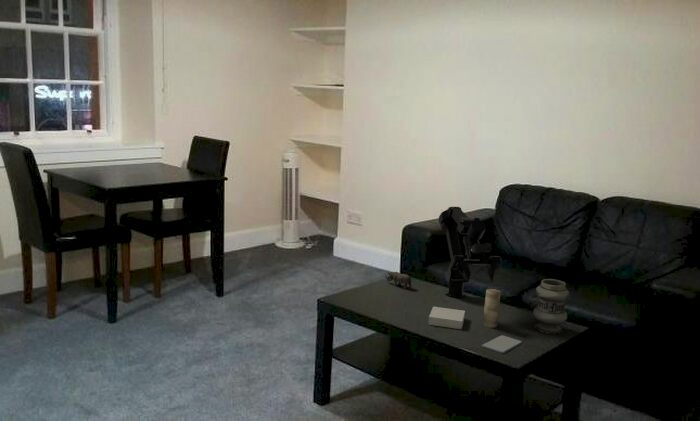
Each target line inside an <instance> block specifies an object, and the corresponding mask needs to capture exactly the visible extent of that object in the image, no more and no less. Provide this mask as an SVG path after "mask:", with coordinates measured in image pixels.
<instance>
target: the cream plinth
mask: <svg viewBox="0 0 700 421" xmlns="http://www.w3.org/2000/svg"><path fill="white" fill-rule="evenodd" d="M429 313H430V314H429V315H428V323H427V325H428V326H436V327H442V328H451V329H457V330H462V329H463V325H464V322H465V315H466V311H465V310H463V309H461V310H460V309H456V308H455V309H453V308H448V307H447V308H446V307H439V306H432V309H431V311H430V312H429Z"/></svg>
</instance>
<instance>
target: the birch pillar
mask: <svg viewBox="0 0 700 421" xmlns="http://www.w3.org/2000/svg"><path fill="white" fill-rule="evenodd" d="M501 293H502V292H501V291H500V290H499V289H493V288H487V289H486V290H485V299H484V305H483V306H484V307H483V317H482V318H483V319H482V326H484V327H486V328H490V329H493V328H494V329H495V328H497V327H498V320H499V310H500V303H501V302H500V301H501Z"/></svg>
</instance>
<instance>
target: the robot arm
mask: <svg viewBox="0 0 700 421" xmlns="http://www.w3.org/2000/svg"><path fill="white" fill-rule="evenodd" d="M438 224H439V225H440V230H442V231H443V232H444V233H445V236H446V241H447V245H448V251H449V256H450V260H451V261H450V264H449V267H448V269H447V271H446V273H445V281H446V282H448V283H449V285H448V292H446V293H445V294H444V295H445V296H449V297H451V298H455V299H460V298H463V297H466V296H467V294H466V293H464V284H465V283H466V284H467V283H469V282H470V277H471V272H472V271H471V269H470V266H469V265H472V266H486V268H487V274H488V278H489V280H490V283H493V281H494V276H495V271H497V270H498V269H499V268H500V266H501V265H502V263H503V260H502V258H501V256H500V255H490V256H489V258H488V259H484V258H485V257H486V254H487V253H489V252H491V251H492V245H491V242H485V243H480V241H479V240H481V239H482V237H483V235H484V233H485V231H486V229H487V225H486V223H485V222H484V221H483V220H480V217H474V218H471V217H468V216H467V215H466V213H465V212H464V211H463V210H462V207H460V206H449V207H448V208H447V209H445V210H443V211H442V212H441V213H440V215H439V216H438ZM458 232H459V234H461V235H464V236H463V238H462V244H464V248H465V253H464V254H465V255H463V254H462V250H461V245H460V240H459V234H458ZM465 256H466V257H465Z"/></svg>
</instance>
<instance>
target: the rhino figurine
mask: <svg viewBox="0 0 700 421" xmlns="http://www.w3.org/2000/svg"><path fill="white" fill-rule="evenodd" d="M387 274H388V275H386V274H385V275H384V277H385V279H386V281H387V282H391V281H392V282H394V284H393V287H397V286H402V284H403V287H402V288H401V289H402V290H406V289H407V287H408V290H413V288H412V278H411V277H410V276H409V274H406V273H400V272H398V271H394V272H393V271H391V272H387Z"/></svg>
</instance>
